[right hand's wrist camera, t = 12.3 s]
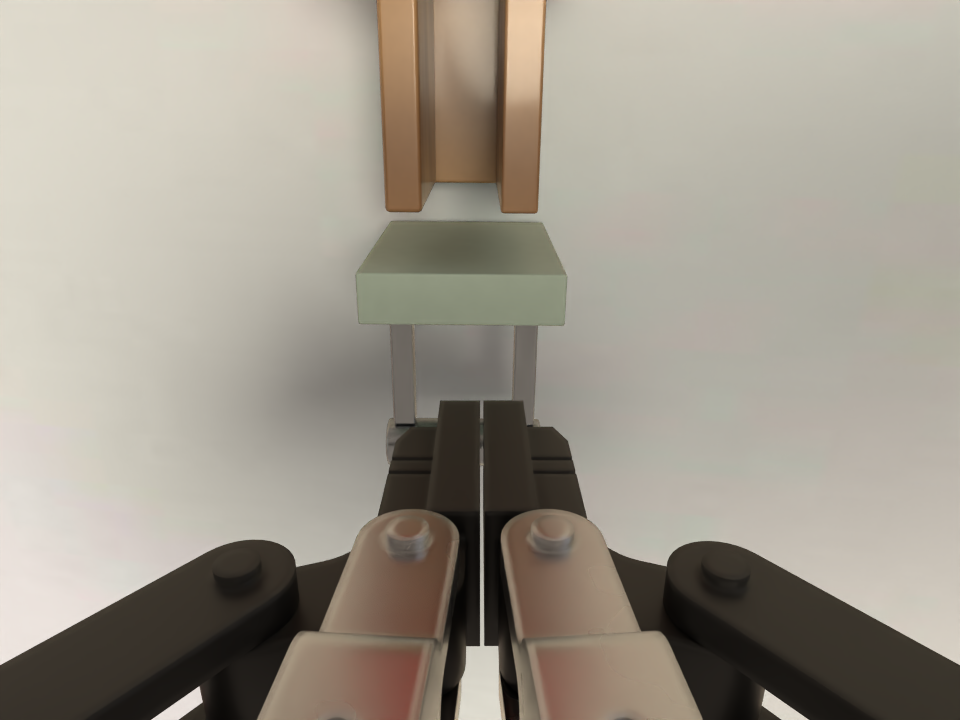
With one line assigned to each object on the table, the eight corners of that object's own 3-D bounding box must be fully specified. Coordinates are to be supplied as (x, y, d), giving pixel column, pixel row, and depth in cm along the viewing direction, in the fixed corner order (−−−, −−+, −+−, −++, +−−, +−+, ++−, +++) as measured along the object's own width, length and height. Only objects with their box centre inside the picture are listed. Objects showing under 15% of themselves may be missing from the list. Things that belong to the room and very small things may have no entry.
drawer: (534, 406, 23) (553, 515, 17) (397, 405, 23) (369, 514, 17) (576, -571, 15) (641, -1018, 9) (359, -573, 15) (276, -1024, 9)
